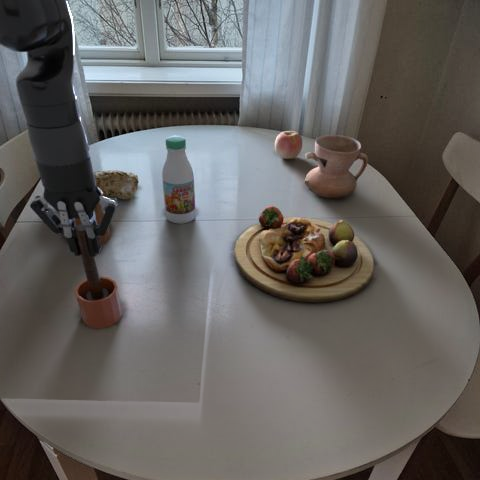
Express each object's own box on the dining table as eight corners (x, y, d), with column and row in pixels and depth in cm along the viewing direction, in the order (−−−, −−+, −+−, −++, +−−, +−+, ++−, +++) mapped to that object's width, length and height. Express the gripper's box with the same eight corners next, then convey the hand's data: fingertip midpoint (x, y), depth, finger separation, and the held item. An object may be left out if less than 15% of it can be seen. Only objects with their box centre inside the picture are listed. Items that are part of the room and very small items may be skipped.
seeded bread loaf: (139, 190, 124) (68, 174, 121) (140, 168, 118) (65, 150, 115) (129, 221, 116) (53, 204, 113) (130, 198, 110) (49, 179, 107)
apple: (304, 161, 140) (307, 136, 135) (278, 163, 139) (280, 138, 133) (294, 151, 147) (297, 126, 141) (270, 152, 145) (272, 128, 139)
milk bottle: (159, 216, 112) (151, 138, 98) (182, 206, 116) (177, 130, 102) (178, 227, 108) (172, 148, 94) (201, 217, 112) (199, 139, 98)
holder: (78, 330, 80) (69, 301, 76) (89, 303, 86) (81, 275, 81) (118, 331, 81) (112, 302, 76) (126, 304, 86) (120, 276, 81)
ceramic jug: (304, 203, 119) (312, 153, 110) (296, 180, 130) (302, 132, 120) (367, 203, 121) (380, 153, 111) (354, 180, 131) (365, 133, 121)
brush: (89, 320, 81) (64, 233, 68) (94, 306, 84) (71, 221, 71) (110, 321, 81) (89, 234, 68) (115, 307, 84) (96, 221, 71)
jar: (60, 248, 100) (48, 205, 92) (73, 225, 107) (62, 183, 100) (105, 249, 100) (95, 206, 92) (114, 226, 107) (106, 185, 100)
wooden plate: (216, 234, 106) (216, 204, 101) (330, 216, 115) (336, 187, 109) (263, 319, 84) (266, 286, 79) (400, 289, 93) (412, 257, 87)
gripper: (2, 161, 58) (38, 265, 70) (104, 165, 59) (123, 267, 71) (22, 140, 64) (53, 240, 76) (116, 144, 64) (132, 242, 76)
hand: (87, 253), depth 73 cm, fingers closed on brush, 2 cm apart
